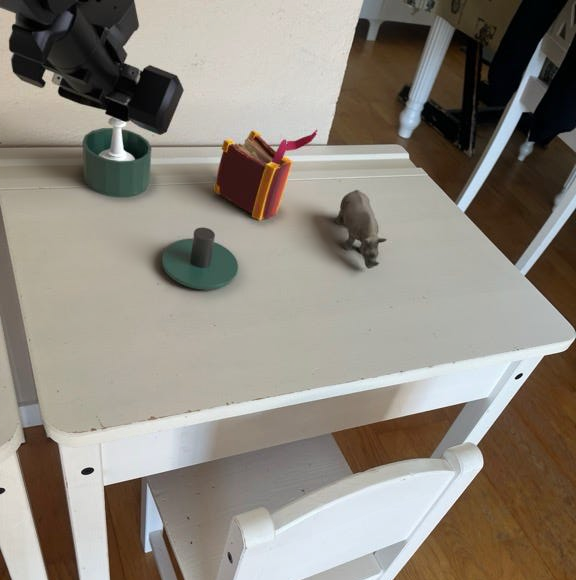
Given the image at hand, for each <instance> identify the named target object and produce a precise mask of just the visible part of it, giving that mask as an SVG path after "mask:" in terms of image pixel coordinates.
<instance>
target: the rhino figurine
mask: <svg viewBox="0 0 576 580" xmlns="http://www.w3.org/2000/svg"><path fill="white" fill-rule="evenodd" d="M340 202H341V203H340V205H339V211H338V214H337V216H336V217H335V218H334V222H335V223H336V224H337V225H344V226H345V227H346V228H347V233H348V239H347V240H346V241H344V242H343V243H342V247H343V248H344V249H345V250H346V251H351V250H353V246H354V245H353V244H354V243H355V242H356V241H359V243H360V246H359V247H358V251H359V253H360V254H361V256H362V258H363V261H364V265H365V267H366V269H372V268H374V267H378V266H379V264H380V261H377V258H378V255H379V244H380V243H385V242H386V241H387V240H388V239H387V238H383V237H379V235H378V234H379V232H380V231H379V230H380V229H379V223H378V221H377V219H376V217H375V212H374V210H373V208H372V206H371V204H370V202H371V201H370V198H369V197H368V195H367V194H366V193H364V192H362V191H361V190H359V189H354V190H353V191H350V192H348V193H346V194H345V195H344V196H343V197H342V199H341V201H340Z"/></svg>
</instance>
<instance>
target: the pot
mask: <svg viewBox="0 0 576 580" xmlns="http://www.w3.org/2000/svg"><path fill="white" fill-rule="evenodd" d="M121 131H122V141H123V149H124V150H125V151H126V152H128V153H130V154H131V155H132V156H133V157H134V158H135V160H133V161H116V160H110V159H106V158H103V157H101V156H98V155H99V154H100V153H101V152H102V151H105V150H108V149H110V147H111V141H112V134H113V127H102V128H98V129H93V130H91V131H89V132H88V133H86V134H85V135H84V137H83V139H82V171H83V178H84V181H85V183H86V185H87V186H88V187H89V188H90V189H92V190H93V191H95V192H97V193H99V194H101V195H104V196H108V197H111V198H112V197H113V198H132V197H135V196H136V197H137V196H139V195H142V194H143V193H144V192H146V191H147V190H148V188H149V187H150V180H151V167H152V151H153V149H152V145H151V144H150V142H149V140H147V139H146V138H145V137H143V136H142V135H141V134H139V133H136V132H134V131H131V130H128V129H123V128H121Z"/></svg>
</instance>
